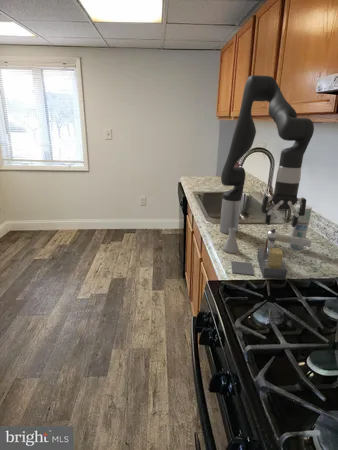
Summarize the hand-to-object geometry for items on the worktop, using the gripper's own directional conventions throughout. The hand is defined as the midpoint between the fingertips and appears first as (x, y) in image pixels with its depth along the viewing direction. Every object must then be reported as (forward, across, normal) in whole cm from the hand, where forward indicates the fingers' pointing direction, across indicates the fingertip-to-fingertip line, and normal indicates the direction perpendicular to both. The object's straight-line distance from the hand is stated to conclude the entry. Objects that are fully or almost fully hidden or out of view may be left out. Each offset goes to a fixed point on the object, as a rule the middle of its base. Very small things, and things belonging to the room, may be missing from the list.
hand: (280, 225), depth 107 cm
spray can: (+20, -15, -28) cm, 37 cm away
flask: (+20, +15, -19) cm, 31 cm away
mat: (+19, +11, -2) cm, 22 cm away
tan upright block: (+15, 0, 0) cm, 15 cm away
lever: (+9, -6, -8) cm, 14 cm away
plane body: (+19, 0, -5) cm, 20 cm away
